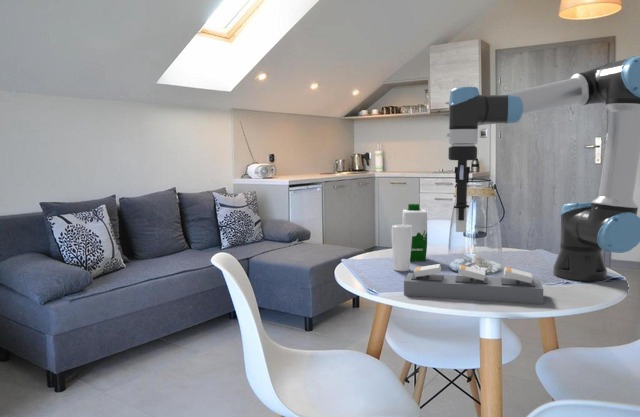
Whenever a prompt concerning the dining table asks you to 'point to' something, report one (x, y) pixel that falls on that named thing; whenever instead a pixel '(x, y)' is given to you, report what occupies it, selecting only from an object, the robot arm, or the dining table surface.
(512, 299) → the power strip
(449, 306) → the dining table surface
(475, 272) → the rocker middle
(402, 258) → the drinking glass
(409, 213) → the milk carton
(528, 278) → the rocker right
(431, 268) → the rocker left
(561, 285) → the dining table surface
